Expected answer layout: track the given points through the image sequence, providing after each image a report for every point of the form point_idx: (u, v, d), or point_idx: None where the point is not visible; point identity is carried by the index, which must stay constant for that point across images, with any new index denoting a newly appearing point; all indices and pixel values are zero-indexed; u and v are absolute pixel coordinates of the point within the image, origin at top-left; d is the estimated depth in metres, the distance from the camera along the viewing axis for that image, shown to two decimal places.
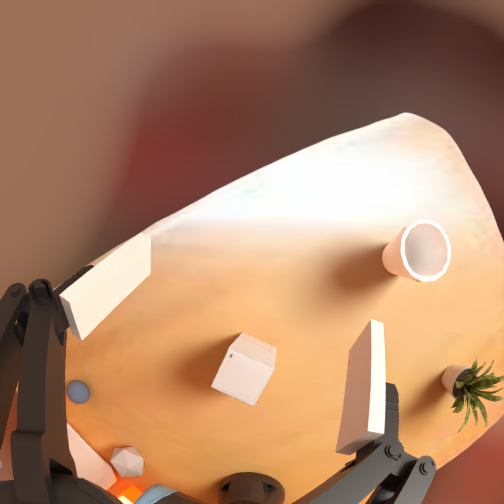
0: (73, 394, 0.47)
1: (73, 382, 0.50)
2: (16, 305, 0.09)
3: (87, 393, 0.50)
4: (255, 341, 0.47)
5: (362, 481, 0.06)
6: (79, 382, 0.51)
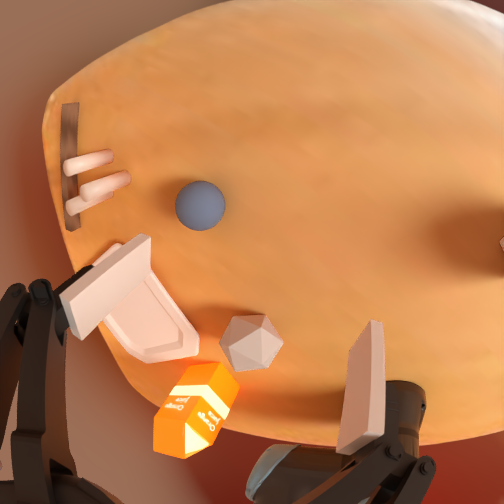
0: (196, 211, 0.30)
1: (200, 185, 0.31)
2: (16, 305, 0.09)
3: (223, 211, 0.33)
4: None
5: (362, 481, 0.06)
6: (213, 186, 0.32)
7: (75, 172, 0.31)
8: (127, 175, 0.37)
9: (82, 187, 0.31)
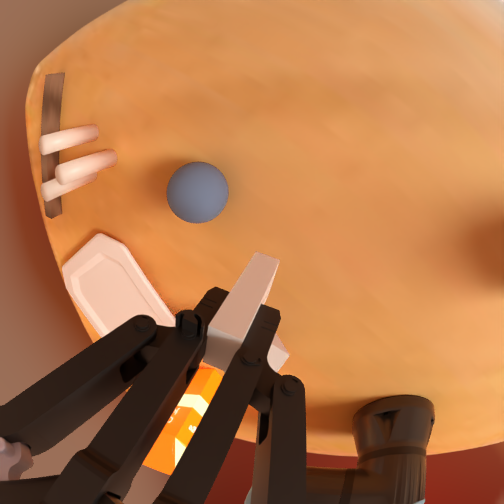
0: (192, 199, 0.24)
1: (198, 167, 0.24)
2: (135, 344, 0.09)
3: (226, 200, 0.26)
4: None
5: (233, 396, 0.09)
6: (214, 169, 0.25)
7: (52, 150, 0.24)
8: (112, 155, 0.30)
9: (58, 168, 0.24)
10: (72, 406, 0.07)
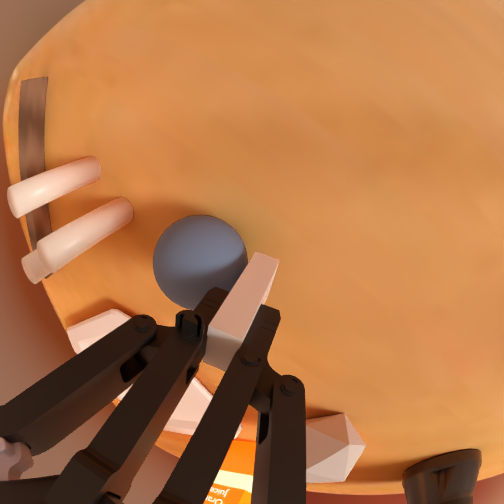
0: None
1: (193, 218, 0.16)
2: (135, 344, 0.09)
3: (177, 289, 0.15)
4: None
5: (233, 396, 0.09)
6: (197, 235, 0.15)
7: (28, 210, 0.14)
8: (126, 209, 0.21)
9: (40, 245, 0.14)
10: (72, 406, 0.07)
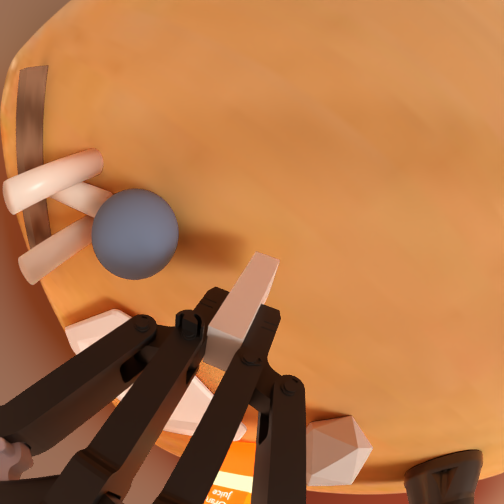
0: None
1: (143, 191, 0.16)
2: (135, 344, 0.09)
3: None
4: None
5: (233, 396, 0.09)
6: (121, 191, 0.16)
7: (25, 206, 0.13)
8: (90, 199, 0.19)
9: None
10: (72, 406, 0.07)
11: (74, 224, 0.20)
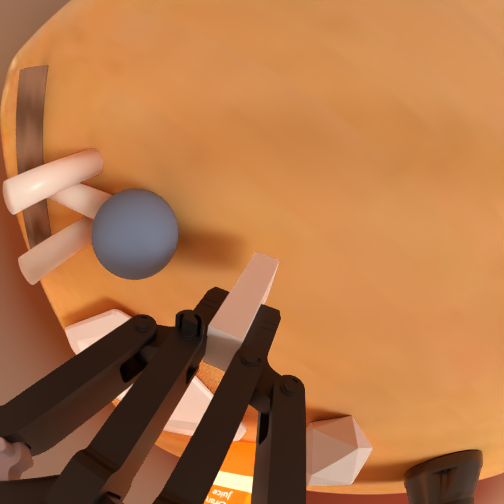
0: None
1: (143, 191, 0.16)
2: (135, 344, 0.09)
3: None
4: None
5: (233, 396, 0.09)
6: (121, 191, 0.16)
7: (25, 206, 0.13)
8: (89, 204, 0.19)
9: None
10: (72, 406, 0.07)
11: (74, 224, 0.20)
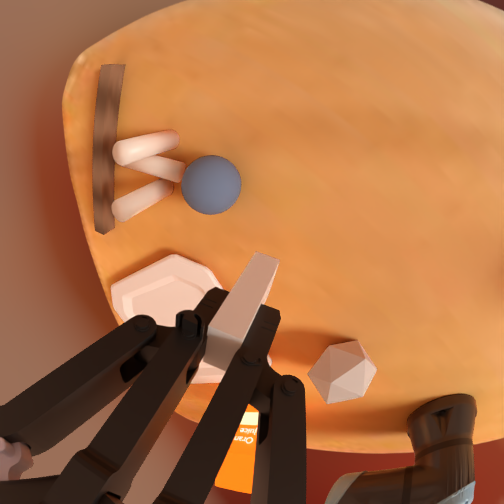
0: None
1: (220, 157, 0.26)
2: (135, 344, 0.09)
3: None
4: None
5: (233, 396, 0.09)
6: (204, 156, 0.26)
7: (133, 160, 0.23)
8: (170, 170, 0.29)
9: None
10: (72, 406, 0.07)
11: (153, 183, 0.30)
